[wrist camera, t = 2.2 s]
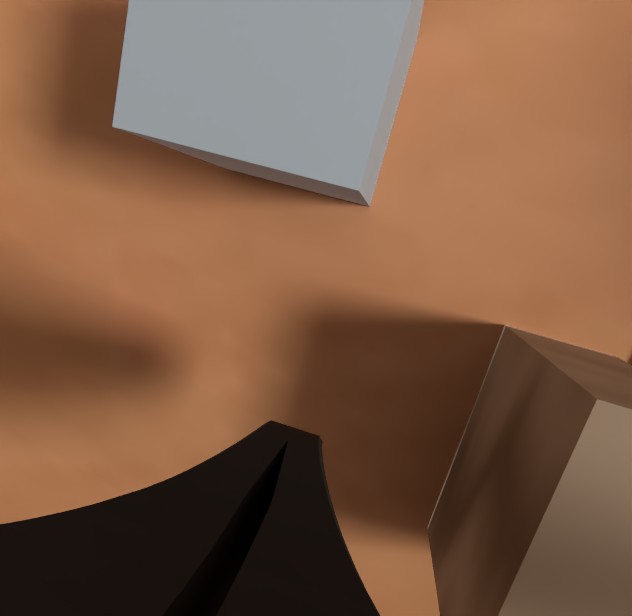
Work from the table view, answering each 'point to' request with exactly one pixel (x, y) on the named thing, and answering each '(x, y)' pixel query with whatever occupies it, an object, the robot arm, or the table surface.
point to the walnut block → (540, 487)
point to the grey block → (270, 85)
